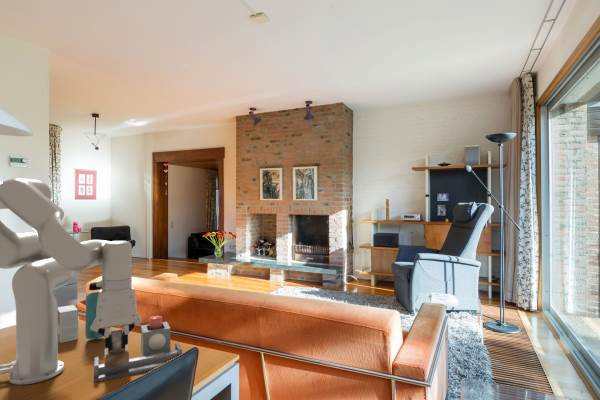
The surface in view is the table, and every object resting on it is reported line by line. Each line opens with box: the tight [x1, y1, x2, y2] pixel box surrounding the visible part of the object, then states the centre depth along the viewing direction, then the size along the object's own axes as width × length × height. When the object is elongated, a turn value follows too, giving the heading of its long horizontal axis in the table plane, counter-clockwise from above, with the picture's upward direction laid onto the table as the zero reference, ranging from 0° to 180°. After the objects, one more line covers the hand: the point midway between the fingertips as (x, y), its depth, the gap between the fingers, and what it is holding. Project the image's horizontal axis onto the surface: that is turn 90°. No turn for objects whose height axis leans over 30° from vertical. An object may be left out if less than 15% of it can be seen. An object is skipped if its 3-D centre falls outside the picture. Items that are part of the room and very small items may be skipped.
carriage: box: [104, 327, 130, 369], centre depth 102 cm, size 6×7×9 cm
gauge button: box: [148, 315, 163, 329], centre depth 115 cm, size 4×4×3 cm
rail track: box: [93, 342, 183, 383], centre depth 105 cm, size 23×8×4 cm, turn 119°
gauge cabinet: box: [140, 321, 171, 357], centre depth 115 cm, size 8×7×8 cm
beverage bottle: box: [84, 281, 105, 340], centre depth 125 cm, size 6×7×20 cm
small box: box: [58, 304, 79, 344], centre depth 126 cm, size 8×6×10 cm
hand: (116, 348), depth 102 cm, fingers closed on carriage, 3 cm apart
